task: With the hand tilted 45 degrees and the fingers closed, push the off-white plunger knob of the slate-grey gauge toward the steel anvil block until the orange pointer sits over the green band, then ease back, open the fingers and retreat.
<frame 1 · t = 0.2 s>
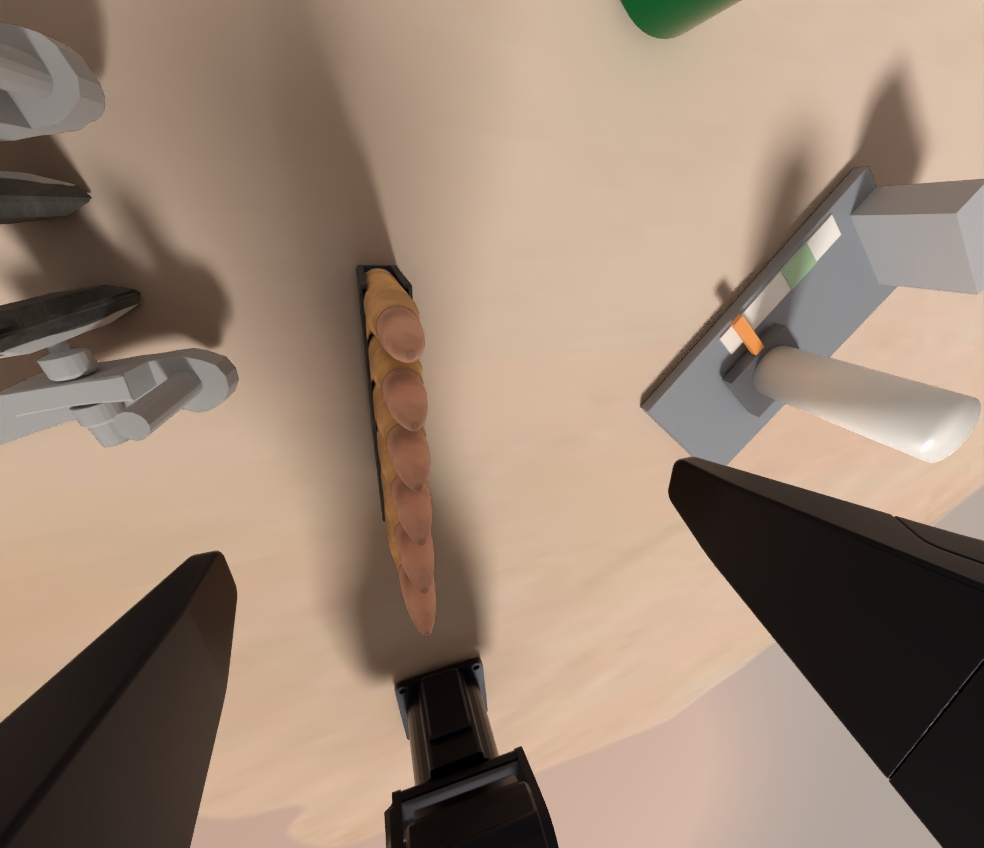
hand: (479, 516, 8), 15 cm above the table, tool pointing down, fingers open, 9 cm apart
ammunition clip: (386, 376, 22), on the table
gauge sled: (827, 381, 22), point 6 cm above the table, slide at 0.0 cm
gauge board: (771, 338, 28), on the table
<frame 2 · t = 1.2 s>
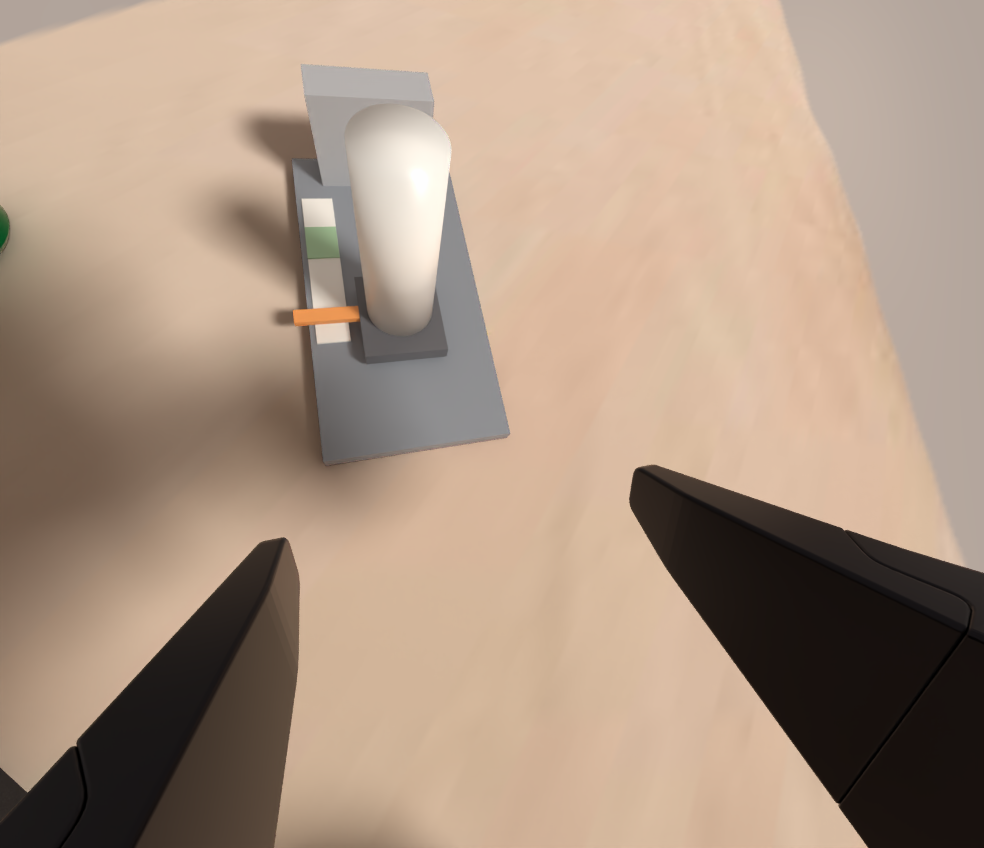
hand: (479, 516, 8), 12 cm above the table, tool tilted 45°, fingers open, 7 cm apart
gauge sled: (363, 258, 17), point 6 cm above the table, slide at 0.0 cm
gauge board: (394, 296, 24), on the table
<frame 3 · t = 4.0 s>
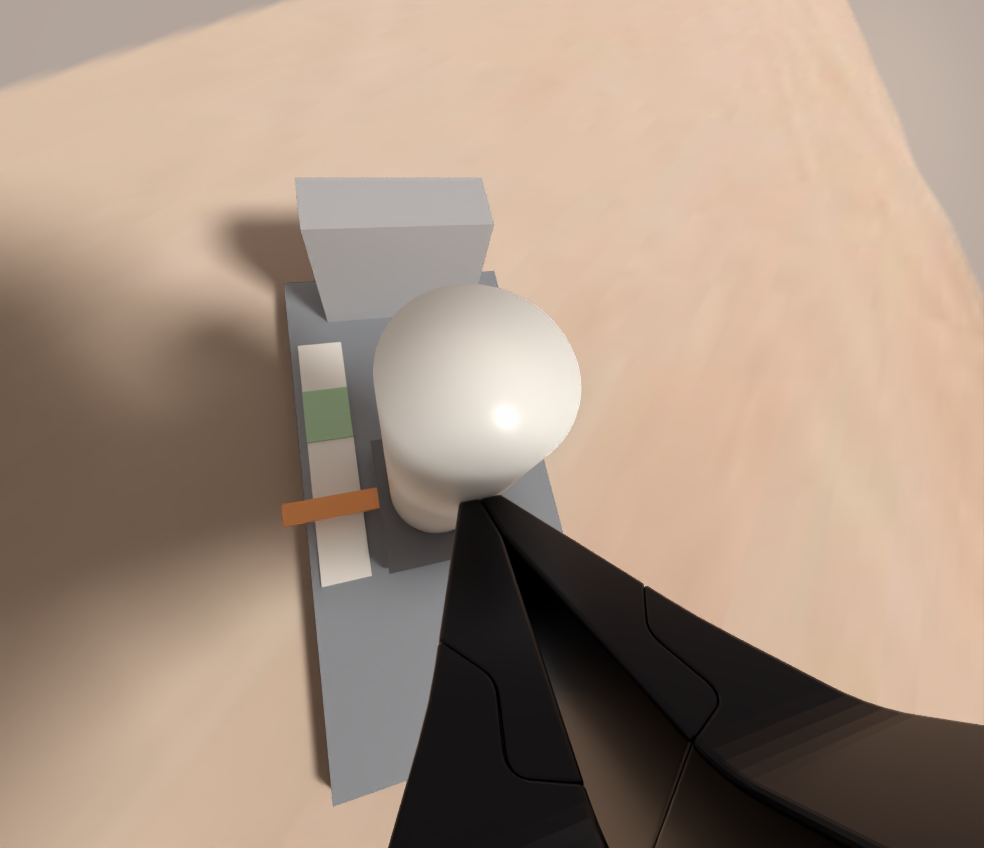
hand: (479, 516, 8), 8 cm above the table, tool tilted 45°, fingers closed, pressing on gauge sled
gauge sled: (391, 475, 11), point 6 cm above the table, slide at 1.4 cm, touching gripper
gauge board: (430, 481, 17), on the table
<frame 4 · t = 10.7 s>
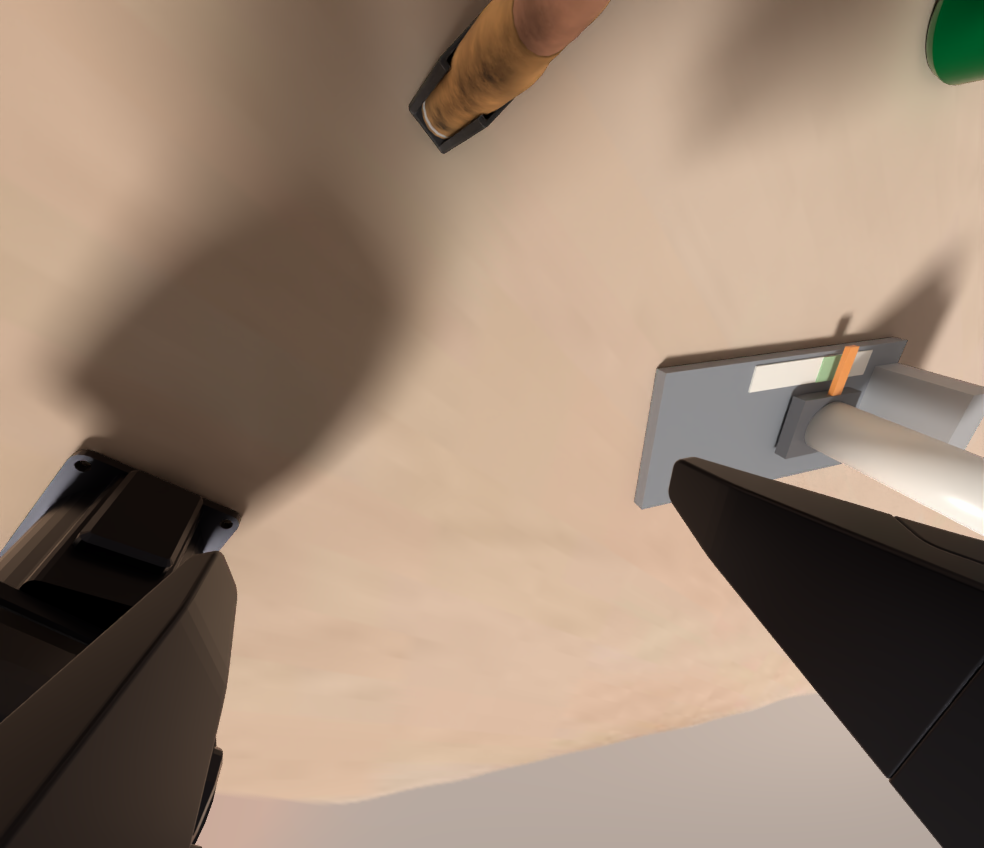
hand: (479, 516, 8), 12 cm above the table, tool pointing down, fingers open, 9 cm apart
ammunition clip: (530, 19, 15), on the table
soda can: (957, 21, 20), on the table
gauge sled: (907, 434, 22), point 6 cm above the table, slide at 4.8 cm
gauge board: (765, 418, 27), on the table
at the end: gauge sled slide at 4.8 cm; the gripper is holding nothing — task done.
